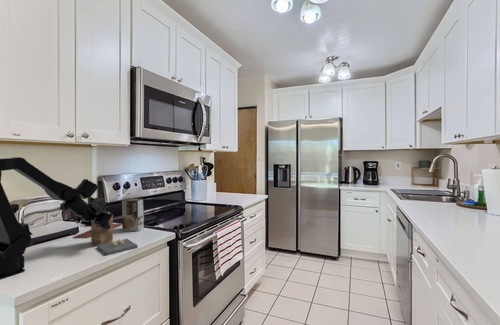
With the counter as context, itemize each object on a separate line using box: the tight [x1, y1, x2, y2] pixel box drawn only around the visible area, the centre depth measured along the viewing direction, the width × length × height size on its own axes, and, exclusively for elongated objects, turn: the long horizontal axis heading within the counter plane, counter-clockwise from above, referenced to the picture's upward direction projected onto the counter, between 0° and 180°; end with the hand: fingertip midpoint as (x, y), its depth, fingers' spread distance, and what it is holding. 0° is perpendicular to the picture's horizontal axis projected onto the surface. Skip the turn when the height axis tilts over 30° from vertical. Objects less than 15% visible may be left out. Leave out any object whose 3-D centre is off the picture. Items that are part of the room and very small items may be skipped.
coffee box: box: [121, 198, 145, 232], centre depth 135 cm, size 9×6×16 cm
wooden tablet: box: [72, 222, 122, 240], centre depth 132 cm, size 27×10×2 cm, turn 172°
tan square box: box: [90, 215, 114, 246], centre depth 113 cm, size 6×6×12 cm
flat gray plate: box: [96, 238, 138, 256], centre depth 107 cm, size 12×12×3 cm
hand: (104, 227), depth 114 cm, fingers closed on tan square box, 6 cm apart
